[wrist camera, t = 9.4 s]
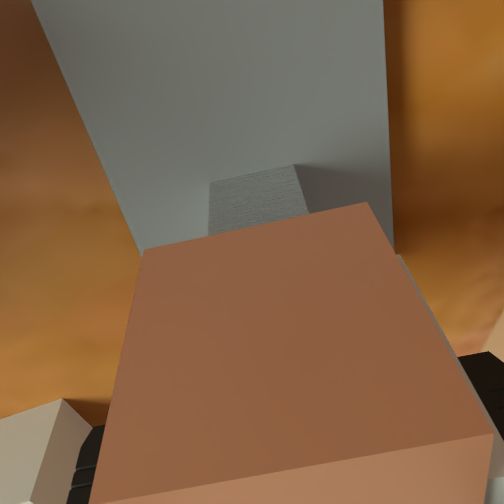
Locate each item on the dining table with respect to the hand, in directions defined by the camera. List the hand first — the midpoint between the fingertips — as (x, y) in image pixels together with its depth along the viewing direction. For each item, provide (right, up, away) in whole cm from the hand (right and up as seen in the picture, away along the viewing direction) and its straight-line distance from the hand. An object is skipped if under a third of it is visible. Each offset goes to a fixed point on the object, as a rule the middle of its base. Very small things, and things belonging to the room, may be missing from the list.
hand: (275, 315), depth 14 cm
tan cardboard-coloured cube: (0, 0, 0) cm, 0 cm away
